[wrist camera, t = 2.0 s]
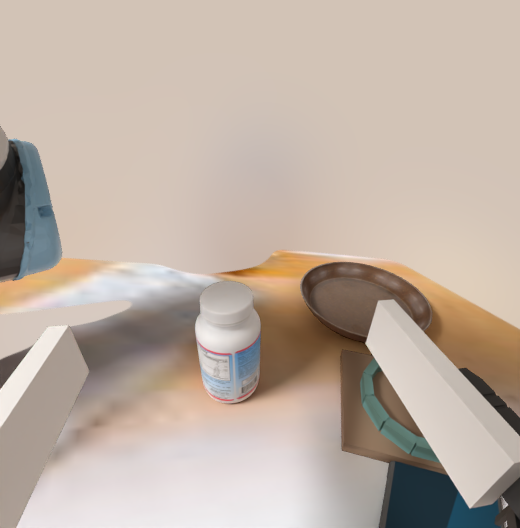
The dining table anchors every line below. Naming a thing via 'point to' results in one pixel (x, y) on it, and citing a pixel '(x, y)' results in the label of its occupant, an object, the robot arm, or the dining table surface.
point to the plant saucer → (359, 297)
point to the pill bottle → (228, 341)
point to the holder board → (360, 422)
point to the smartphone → (429, 502)
